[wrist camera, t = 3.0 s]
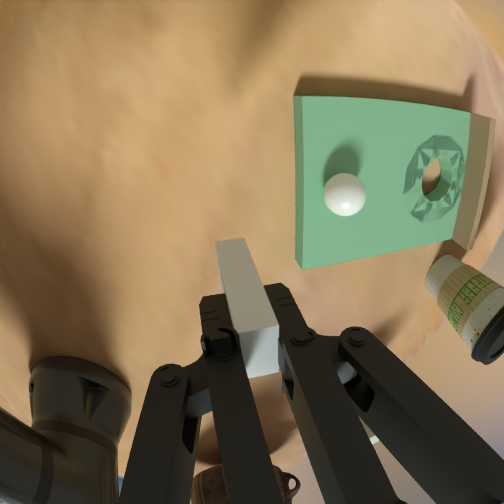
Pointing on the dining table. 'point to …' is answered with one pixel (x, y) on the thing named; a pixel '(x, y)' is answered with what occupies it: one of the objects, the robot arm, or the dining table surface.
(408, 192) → the putting platform
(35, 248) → the dining table surface
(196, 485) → the vase
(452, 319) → the coffee cup
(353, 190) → the ball
